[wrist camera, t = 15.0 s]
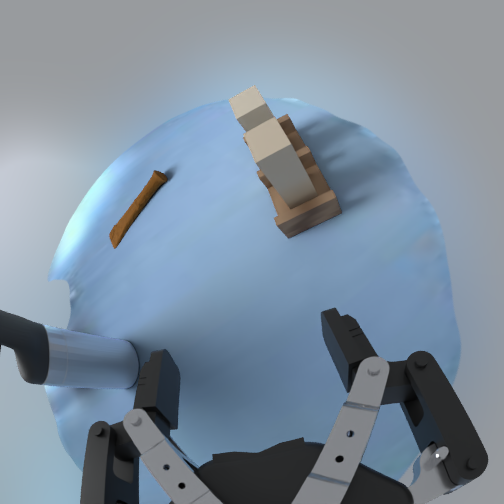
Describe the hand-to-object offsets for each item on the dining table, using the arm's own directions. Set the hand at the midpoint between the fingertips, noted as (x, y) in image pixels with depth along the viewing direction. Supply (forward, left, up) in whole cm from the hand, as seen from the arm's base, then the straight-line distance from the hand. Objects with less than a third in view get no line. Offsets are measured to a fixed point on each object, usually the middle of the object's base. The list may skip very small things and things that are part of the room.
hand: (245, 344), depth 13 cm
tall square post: (-11, +26, -19) cm, 34 cm away
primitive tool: (-42, +17, -21) cm, 50 cm away
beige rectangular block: (-6, +19, -19) cm, 28 cm away
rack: (-8, +23, -20) cm, 32 cm away
